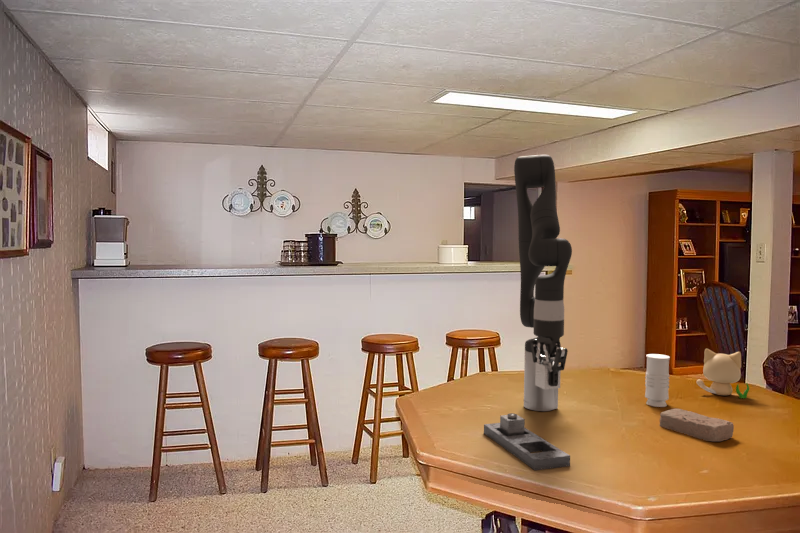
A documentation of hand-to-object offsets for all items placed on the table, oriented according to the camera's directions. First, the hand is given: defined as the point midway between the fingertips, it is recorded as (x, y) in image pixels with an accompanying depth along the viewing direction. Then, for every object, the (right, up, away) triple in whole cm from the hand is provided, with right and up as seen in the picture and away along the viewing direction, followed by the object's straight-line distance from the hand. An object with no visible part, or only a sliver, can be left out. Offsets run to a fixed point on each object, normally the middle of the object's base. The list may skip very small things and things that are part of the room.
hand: (547, 383), depth 156 cm
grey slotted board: (-8, -15, -7) cm, 18 cm away
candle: (+42, -13, +33) cm, 55 cm away
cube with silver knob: (0, -1, 0) cm, 1 cm away
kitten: (+68, -13, +45) cm, 83 cm away
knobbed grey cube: (-9, -14, -1) cm, 17 cm away
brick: (+41, -15, +7) cm, 44 cm away
